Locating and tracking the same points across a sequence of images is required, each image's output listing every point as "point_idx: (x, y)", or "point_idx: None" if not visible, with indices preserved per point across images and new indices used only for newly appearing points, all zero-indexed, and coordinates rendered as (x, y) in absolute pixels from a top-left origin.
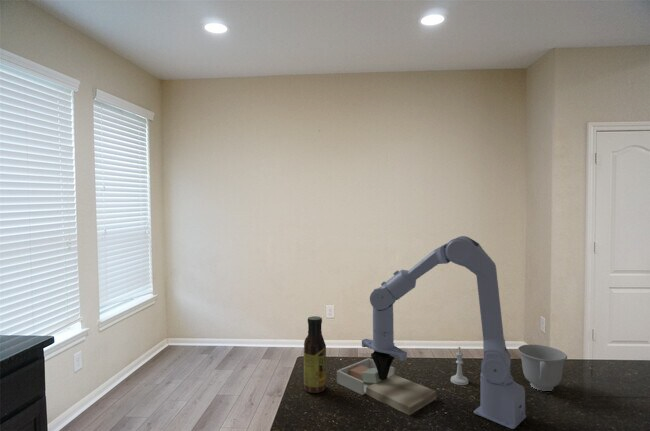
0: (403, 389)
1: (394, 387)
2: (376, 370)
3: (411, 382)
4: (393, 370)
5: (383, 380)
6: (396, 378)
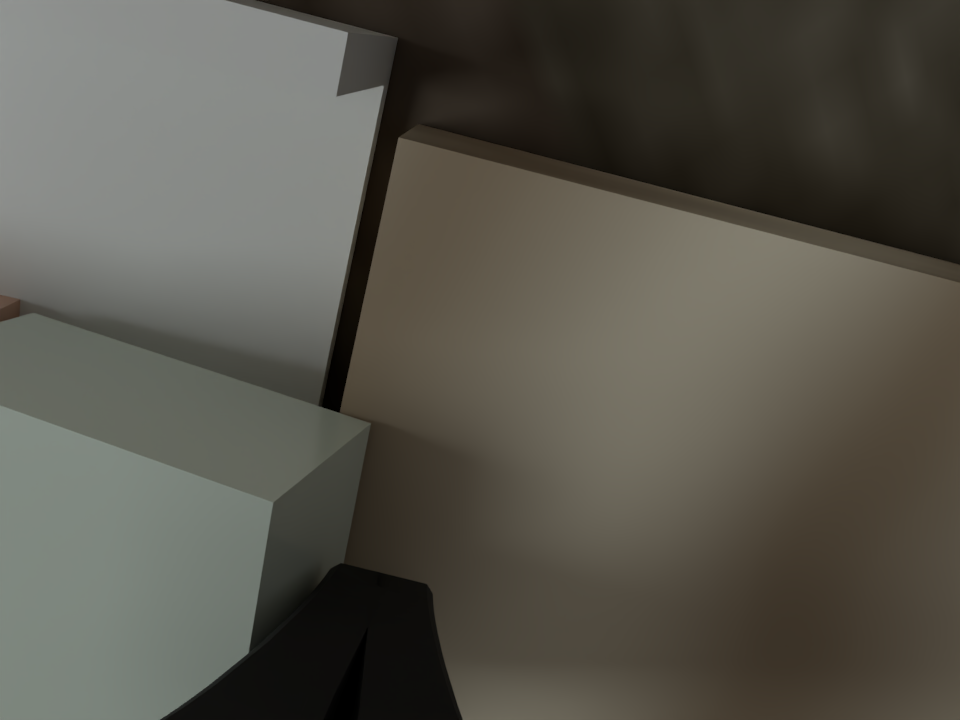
0: (852, 688)
1: (667, 695)
2: (106, 623)
3: (931, 325)
4: (351, 78)
5: (351, 548)
6: (551, 320)
